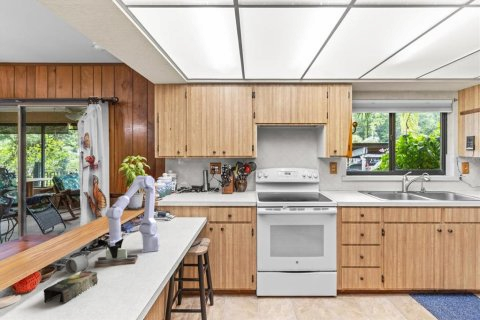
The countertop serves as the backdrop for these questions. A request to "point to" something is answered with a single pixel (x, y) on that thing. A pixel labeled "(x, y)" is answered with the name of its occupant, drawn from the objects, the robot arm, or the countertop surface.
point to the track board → (116, 261)
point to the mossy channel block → (71, 286)
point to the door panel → (121, 254)
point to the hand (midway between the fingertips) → (116, 255)
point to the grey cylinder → (76, 264)
